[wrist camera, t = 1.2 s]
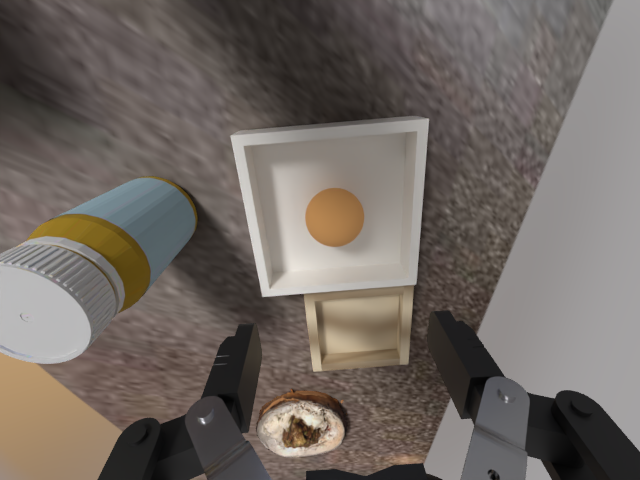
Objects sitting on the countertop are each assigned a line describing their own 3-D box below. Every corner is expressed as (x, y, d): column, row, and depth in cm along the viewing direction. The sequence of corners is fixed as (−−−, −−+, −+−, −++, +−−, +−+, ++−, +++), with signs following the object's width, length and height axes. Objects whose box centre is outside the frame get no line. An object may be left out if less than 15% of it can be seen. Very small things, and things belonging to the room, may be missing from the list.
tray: (304, 281, 32) (303, 293, 30) (407, 272, 32) (413, 285, 30) (313, 355, 37) (313, 371, 35) (402, 349, 37) (408, 364, 35)
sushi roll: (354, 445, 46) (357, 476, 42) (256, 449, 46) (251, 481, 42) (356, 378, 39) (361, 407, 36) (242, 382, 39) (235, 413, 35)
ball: (303, 183, 27) (301, 201, 22) (359, 178, 27) (368, 196, 22) (308, 234, 29) (307, 260, 24) (360, 230, 29) (369, 255, 24)
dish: (240, 130, 25) (230, 135, 22) (414, 115, 25) (428, 118, 22) (267, 276, 32) (262, 296, 28) (405, 265, 31) (416, 284, 28)
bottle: (204, 186, 27) (99, 276, 14) (195, 251, 30) (102, 379, 17) (122, 164, 26) (-77, 240, 13) (122, 234, 29) (-41, 356, 16)
